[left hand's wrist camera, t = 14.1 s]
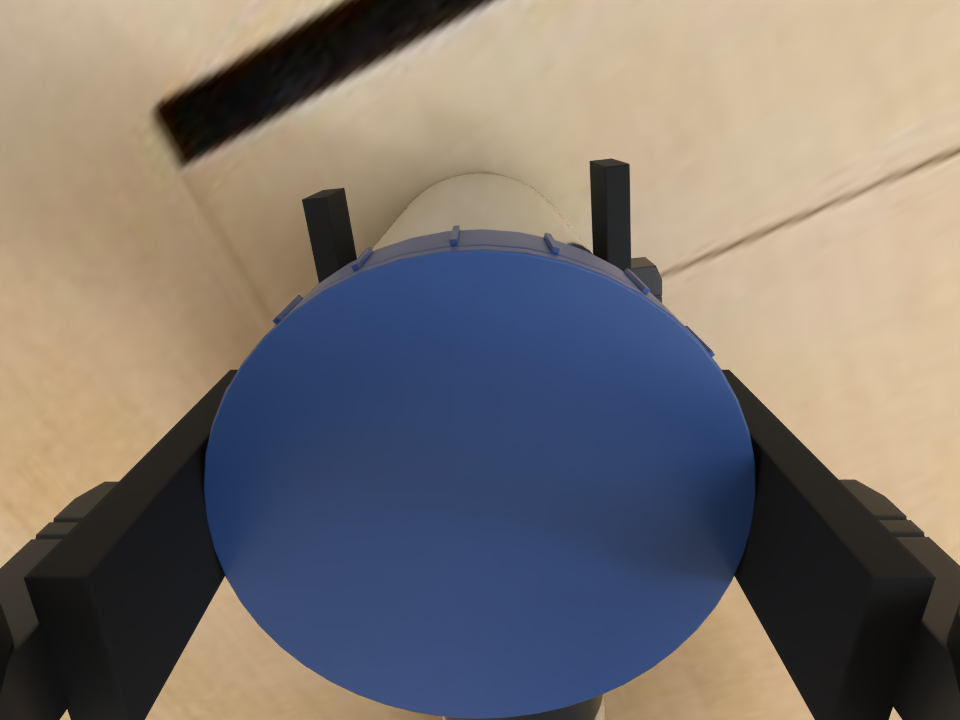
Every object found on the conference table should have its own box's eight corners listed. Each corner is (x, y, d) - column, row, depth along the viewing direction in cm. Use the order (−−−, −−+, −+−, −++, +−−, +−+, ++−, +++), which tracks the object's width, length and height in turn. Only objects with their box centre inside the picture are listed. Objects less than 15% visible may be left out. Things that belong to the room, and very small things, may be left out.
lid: (743, 601, 14) (782, 673, 12) (332, 681, 14) (312, 758, 13) (687, 164, 10) (729, 173, 8) (157, 301, 11) (98, 335, 9)
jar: (590, 335, 29) (746, 641, 12) (416, 377, 30) (331, 718, 13) (553, 150, 26) (690, 207, 9) (360, 201, 27) (152, 343, 10)
